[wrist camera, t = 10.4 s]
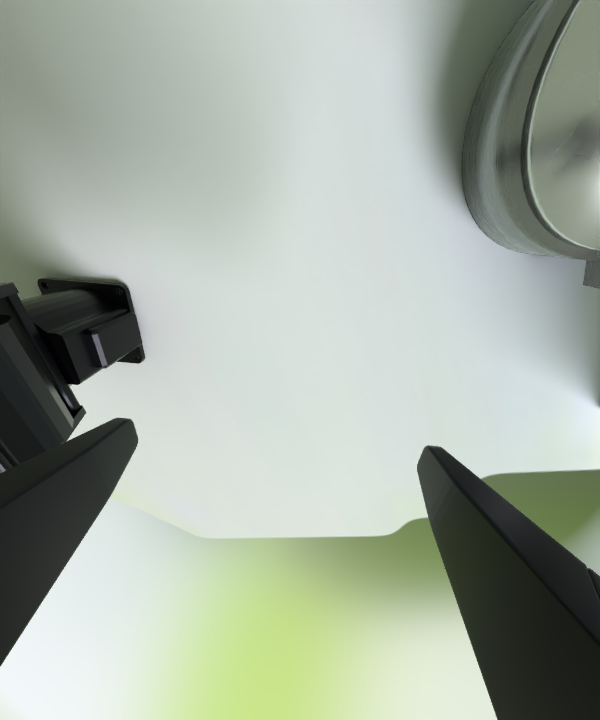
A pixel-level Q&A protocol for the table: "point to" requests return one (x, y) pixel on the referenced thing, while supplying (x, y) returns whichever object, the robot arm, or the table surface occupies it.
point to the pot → (513, 142)
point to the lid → (566, 131)
